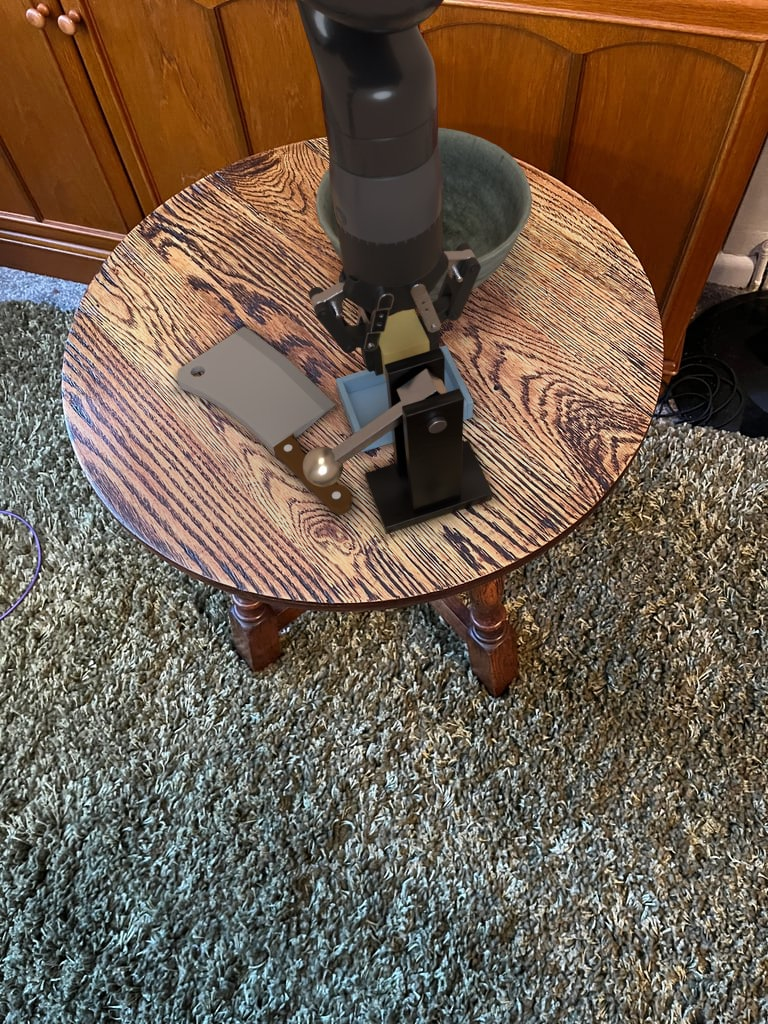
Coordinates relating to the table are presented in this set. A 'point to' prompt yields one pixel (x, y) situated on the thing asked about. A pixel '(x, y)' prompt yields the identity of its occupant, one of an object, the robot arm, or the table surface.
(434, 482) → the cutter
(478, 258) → the bowl
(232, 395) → the kitchen cleaver
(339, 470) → the cutter lever
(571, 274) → the table surface
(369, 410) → the butter dish
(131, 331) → the table surface
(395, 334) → the butter pat
